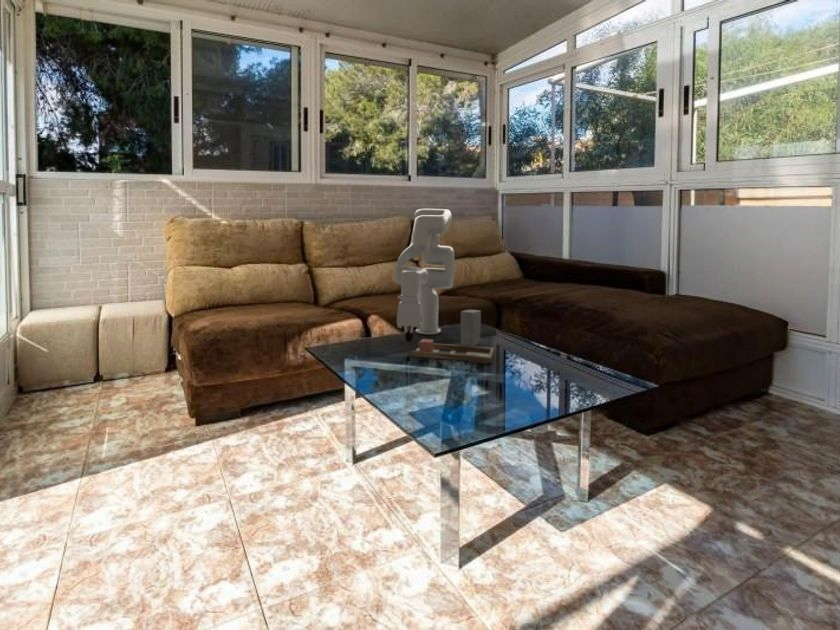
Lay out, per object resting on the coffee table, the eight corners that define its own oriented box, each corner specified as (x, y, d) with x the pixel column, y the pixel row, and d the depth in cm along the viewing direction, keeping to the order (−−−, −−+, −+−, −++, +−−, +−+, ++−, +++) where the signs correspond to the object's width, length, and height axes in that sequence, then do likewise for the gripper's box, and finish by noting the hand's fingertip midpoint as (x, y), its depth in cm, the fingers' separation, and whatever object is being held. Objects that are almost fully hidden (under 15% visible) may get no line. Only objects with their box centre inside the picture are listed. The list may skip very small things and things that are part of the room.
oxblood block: (421, 350, 241) (422, 338, 240) (433, 350, 240) (433, 339, 239) (419, 353, 237) (419, 341, 236) (431, 354, 236) (431, 342, 235)
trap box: (418, 347, 247) (418, 342, 246) (493, 353, 240) (494, 347, 240) (411, 357, 232) (411, 351, 232) (490, 363, 226) (491, 357, 225)
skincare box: (472, 347, 248) (473, 313, 245) (458, 345, 252) (459, 311, 249) (481, 343, 255) (482, 310, 252) (467, 341, 259) (468, 308, 256)
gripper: (390, 299, 233) (390, 342, 236) (425, 301, 230) (424, 344, 234) (395, 296, 240) (394, 338, 244) (429, 298, 237) (427, 340, 241)
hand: (409, 341), depth 239 cm, fingers closed
